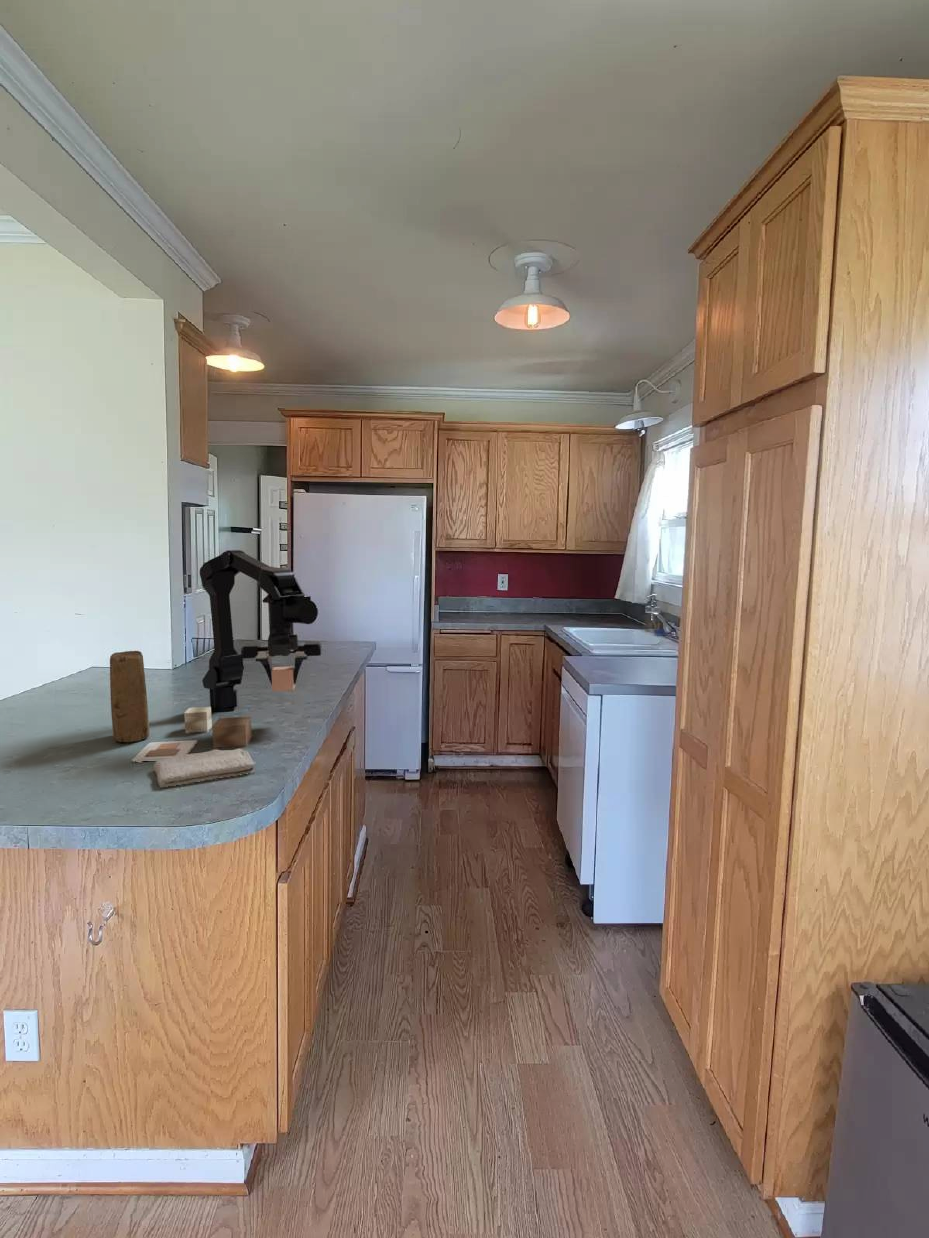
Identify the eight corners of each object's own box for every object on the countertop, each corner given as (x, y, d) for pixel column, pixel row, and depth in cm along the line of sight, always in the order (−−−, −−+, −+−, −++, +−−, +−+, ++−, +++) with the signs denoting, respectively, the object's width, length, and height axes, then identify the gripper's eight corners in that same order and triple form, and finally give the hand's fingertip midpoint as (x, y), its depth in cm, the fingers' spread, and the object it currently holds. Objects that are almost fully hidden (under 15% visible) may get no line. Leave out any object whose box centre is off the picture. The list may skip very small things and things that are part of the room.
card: (132, 762, 137) (131, 759, 137) (149, 745, 149) (149, 741, 149) (183, 759, 139) (183, 756, 139) (196, 742, 150) (196, 739, 150)
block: (150, 741, 152) (144, 654, 149) (113, 746, 148) (106, 657, 146) (148, 729, 161) (143, 647, 159) (113, 733, 158) (107, 650, 156)
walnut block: (213, 748, 147) (212, 726, 146) (220, 739, 154) (219, 718, 153) (246, 746, 148) (245, 724, 147) (251, 737, 155) (250, 716, 154)
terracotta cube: (272, 691, 162) (271, 670, 161) (274, 686, 167) (273, 667, 166) (293, 690, 163) (292, 670, 162) (295, 685, 168) (294, 666, 167)
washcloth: (258, 775, 131) (258, 760, 130) (158, 792, 122) (157, 776, 122) (246, 758, 141) (245, 743, 141) (153, 773, 133) (152, 758, 132)
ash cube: (185, 733, 158) (184, 712, 157) (190, 727, 163) (189, 707, 162) (207, 732, 159) (206, 711, 158) (211, 726, 164) (210, 706, 163)
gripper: (235, 626, 154) (238, 693, 155) (318, 624, 156) (320, 689, 158) (243, 621, 164) (246, 683, 166) (320, 619, 167) (322, 680, 169)
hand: (283, 684), depth 165 cm, fingers closed on terracotta cube, 5 cm apart
